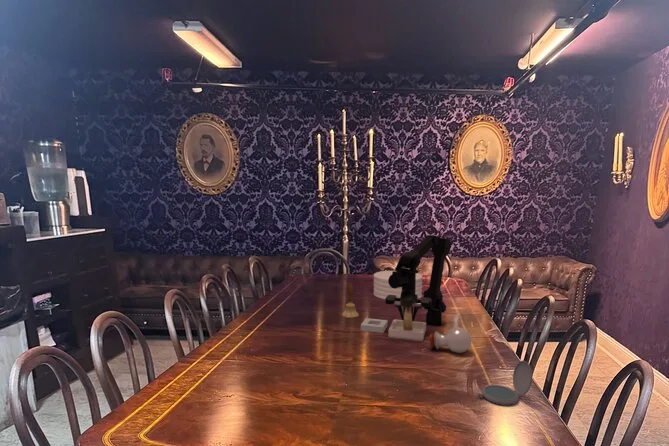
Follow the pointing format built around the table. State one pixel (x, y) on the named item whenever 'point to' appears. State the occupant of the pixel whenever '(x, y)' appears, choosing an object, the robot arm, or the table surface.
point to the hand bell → (350, 305)
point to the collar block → (374, 325)
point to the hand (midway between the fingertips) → (408, 320)
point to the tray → (400, 333)
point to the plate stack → (385, 289)
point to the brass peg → (408, 318)
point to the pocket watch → (507, 395)
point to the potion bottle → (452, 340)
